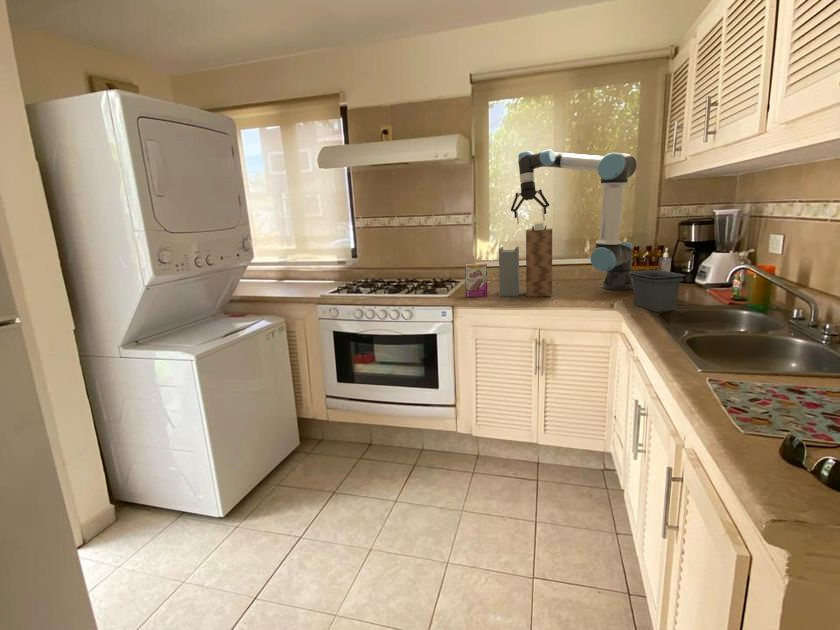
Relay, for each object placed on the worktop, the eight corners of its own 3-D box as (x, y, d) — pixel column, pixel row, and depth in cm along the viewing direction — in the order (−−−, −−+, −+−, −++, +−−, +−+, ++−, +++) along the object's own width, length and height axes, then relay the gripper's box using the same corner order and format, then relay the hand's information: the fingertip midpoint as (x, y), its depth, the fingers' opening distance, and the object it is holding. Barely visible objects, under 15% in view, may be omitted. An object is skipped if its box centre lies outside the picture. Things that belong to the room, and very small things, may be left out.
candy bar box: (465, 297, 231) (464, 265, 227) (465, 295, 236) (464, 264, 232) (488, 296, 230) (487, 264, 226) (487, 295, 235) (486, 263, 231)
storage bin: (624, 304, 196) (625, 270, 193) (658, 301, 197) (660, 268, 194) (653, 314, 175) (655, 277, 172) (691, 311, 176) (694, 274, 173)
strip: (543, 227, 234) (543, 221, 233) (543, 230, 213) (543, 223, 213) (535, 228, 235) (535, 222, 235) (534, 230, 215) (534, 223, 214)
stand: (551, 292, 232) (552, 225, 224) (551, 296, 220) (552, 226, 213) (527, 292, 235) (526, 226, 227) (526, 296, 224) (525, 227, 216)
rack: (519, 291, 239) (518, 246, 234) (517, 295, 227) (517, 248, 222) (501, 291, 241) (501, 247, 236) (499, 296, 230) (498, 249, 225)
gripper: (551, 179, 245) (554, 219, 247) (504, 186, 251) (507, 225, 253) (552, 177, 238) (555, 218, 240) (503, 184, 243) (507, 224, 245)
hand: (531, 222), depth 246 cm, fingers open, 13 cm apart
